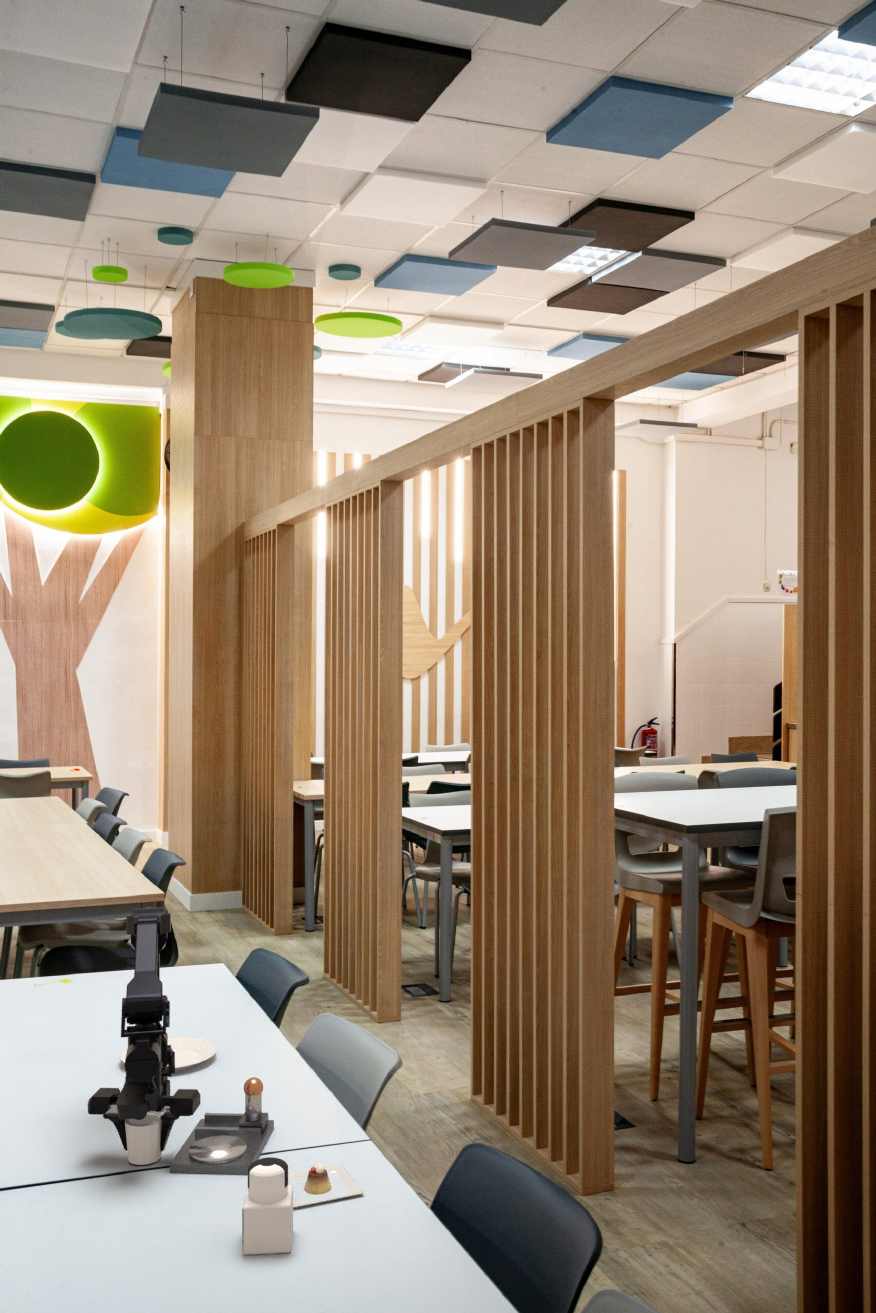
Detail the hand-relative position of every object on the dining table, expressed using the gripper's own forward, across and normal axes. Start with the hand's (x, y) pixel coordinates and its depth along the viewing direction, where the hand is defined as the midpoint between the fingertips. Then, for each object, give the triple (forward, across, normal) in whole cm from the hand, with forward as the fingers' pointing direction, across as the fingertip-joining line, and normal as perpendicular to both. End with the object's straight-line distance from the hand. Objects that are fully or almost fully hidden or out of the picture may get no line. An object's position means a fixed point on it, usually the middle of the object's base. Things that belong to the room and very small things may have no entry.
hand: (144, 1150), depth 200 cm
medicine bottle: (+2, +28, -28) cm, 40 cm away
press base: (+2, +13, +5) cm, 14 cm away
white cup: (+2, 0, 0) cm, 2 cm away
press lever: (0, +17, +11) cm, 20 cm away
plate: (+2, -11, +51) cm, 52 cm away
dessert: (+2, +32, -10) cm, 34 cm away
